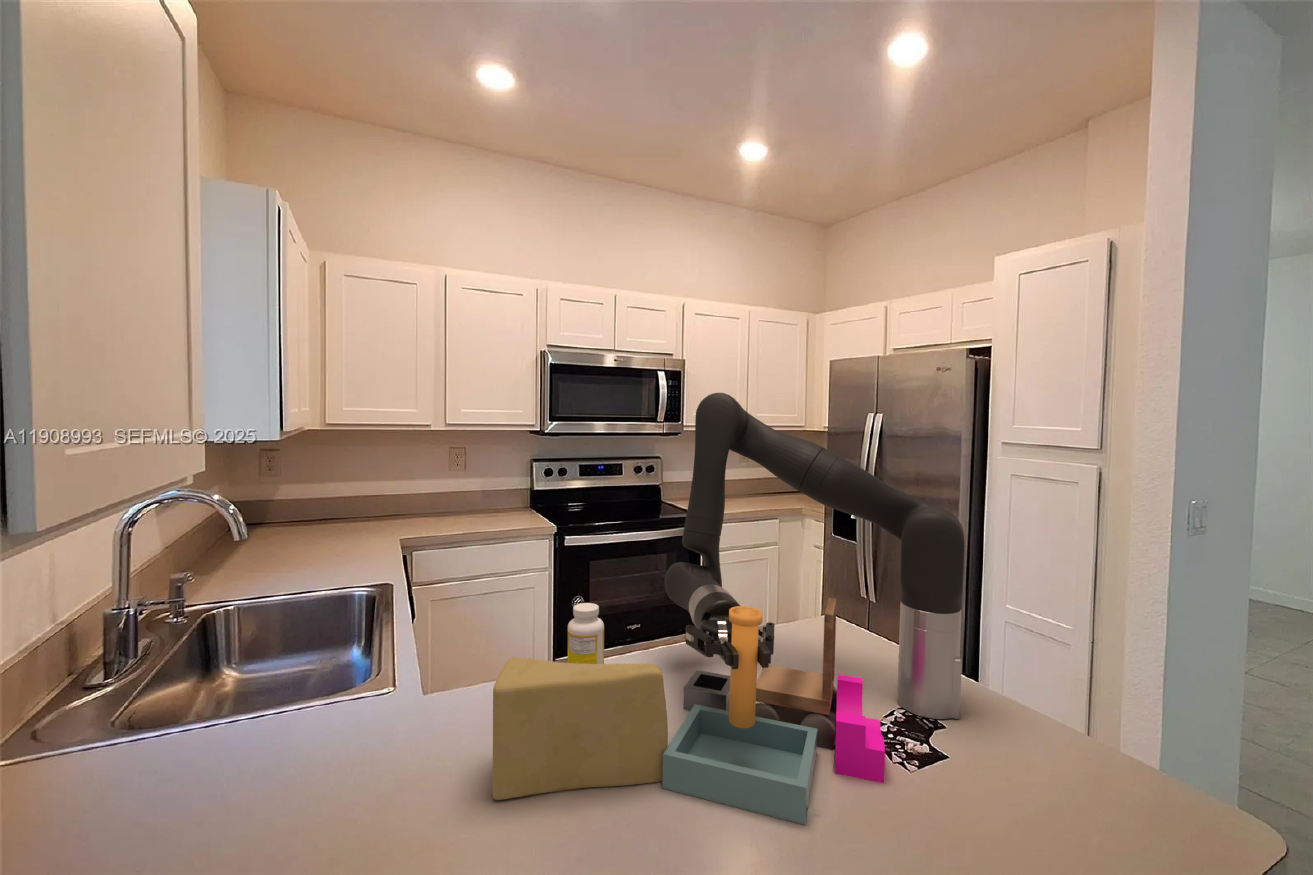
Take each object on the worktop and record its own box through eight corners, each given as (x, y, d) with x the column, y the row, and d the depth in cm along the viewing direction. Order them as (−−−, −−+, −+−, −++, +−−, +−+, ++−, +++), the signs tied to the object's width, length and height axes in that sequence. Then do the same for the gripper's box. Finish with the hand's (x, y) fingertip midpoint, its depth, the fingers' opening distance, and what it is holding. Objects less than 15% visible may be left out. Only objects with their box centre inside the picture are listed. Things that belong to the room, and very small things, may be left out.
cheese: (665, 757, 82) (666, 652, 82) (669, 802, 73) (671, 684, 72) (507, 757, 82) (507, 652, 81) (489, 804, 72) (490, 684, 71)
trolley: (839, 715, 95) (843, 595, 94) (834, 756, 83) (838, 620, 82) (759, 699, 99) (762, 585, 98) (744, 737, 87) (747, 608, 87)
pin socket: (735, 703, 98) (736, 677, 98) (725, 723, 91) (726, 695, 91) (695, 695, 100) (696, 669, 100) (683, 715, 94) (683, 687, 94)
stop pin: (761, 716, 80) (765, 609, 79) (754, 733, 76) (759, 619, 75) (729, 710, 81) (733, 604, 81) (721, 725, 77) (725, 614, 77)
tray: (816, 760, 82) (817, 728, 82) (805, 825, 69) (806, 788, 69) (694, 733, 88) (694, 704, 88) (662, 788, 75) (663, 754, 75)
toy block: (884, 784, 77) (885, 729, 77) (834, 775, 79) (836, 721, 79) (877, 727, 91) (879, 680, 91) (836, 720, 93) (837, 674, 93)
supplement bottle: (584, 664, 112) (585, 598, 111) (611, 674, 108) (612, 605, 107) (559, 677, 106) (560, 607, 106) (586, 687, 103) (587, 615, 102)
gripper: (673, 592, 91) (698, 635, 74) (760, 590, 93) (804, 631, 76) (671, 639, 91) (697, 692, 74) (758, 636, 94) (802, 687, 77)
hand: (751, 661), depth 75 cm, fingers closed on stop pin, 3 cm apart
